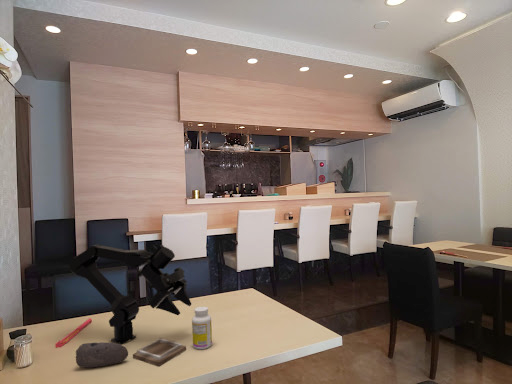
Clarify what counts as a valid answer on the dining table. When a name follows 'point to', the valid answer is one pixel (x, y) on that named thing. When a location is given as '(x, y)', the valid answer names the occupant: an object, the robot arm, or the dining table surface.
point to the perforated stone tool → (100, 354)
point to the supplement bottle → (201, 328)
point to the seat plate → (159, 352)
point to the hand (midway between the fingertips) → (185, 309)
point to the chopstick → (72, 333)
